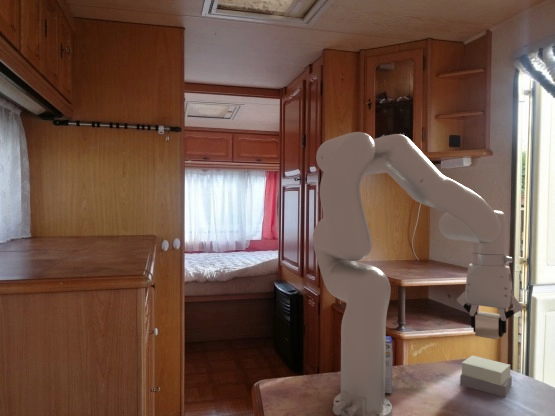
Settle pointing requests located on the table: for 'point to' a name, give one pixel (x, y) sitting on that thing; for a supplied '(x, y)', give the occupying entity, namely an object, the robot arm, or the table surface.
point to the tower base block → (486, 385)
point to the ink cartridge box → (388, 365)
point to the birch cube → (487, 325)
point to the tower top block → (486, 370)
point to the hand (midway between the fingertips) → (488, 332)
